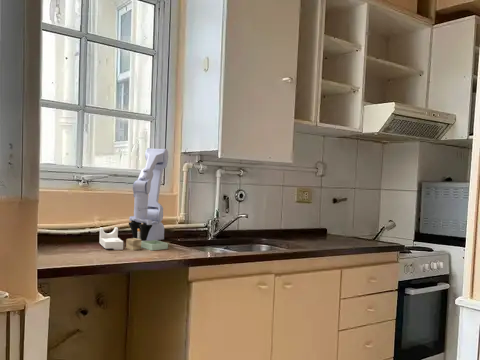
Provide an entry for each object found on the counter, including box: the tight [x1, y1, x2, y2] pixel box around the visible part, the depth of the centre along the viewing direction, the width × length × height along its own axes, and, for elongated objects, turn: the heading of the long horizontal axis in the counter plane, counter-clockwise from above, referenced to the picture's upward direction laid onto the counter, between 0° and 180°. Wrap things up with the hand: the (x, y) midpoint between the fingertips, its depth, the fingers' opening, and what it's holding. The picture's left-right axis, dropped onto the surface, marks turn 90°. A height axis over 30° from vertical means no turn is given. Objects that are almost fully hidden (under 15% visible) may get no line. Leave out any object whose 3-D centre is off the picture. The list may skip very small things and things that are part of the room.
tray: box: [141, 240, 169, 251], centre depth 194 cm, size 8×9×2 cm
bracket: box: [98, 226, 124, 251], centre depth 192 cm, size 13×7×8 cm, turn 27°
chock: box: [125, 237, 142, 251], centre depth 190 cm, size 4×5×4 cm
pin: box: [136, 229, 141, 240], centre depth 199 cm, size 2×2×7 cm
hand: (139, 239), depth 199 cm, fingers open, 6 cm apart
